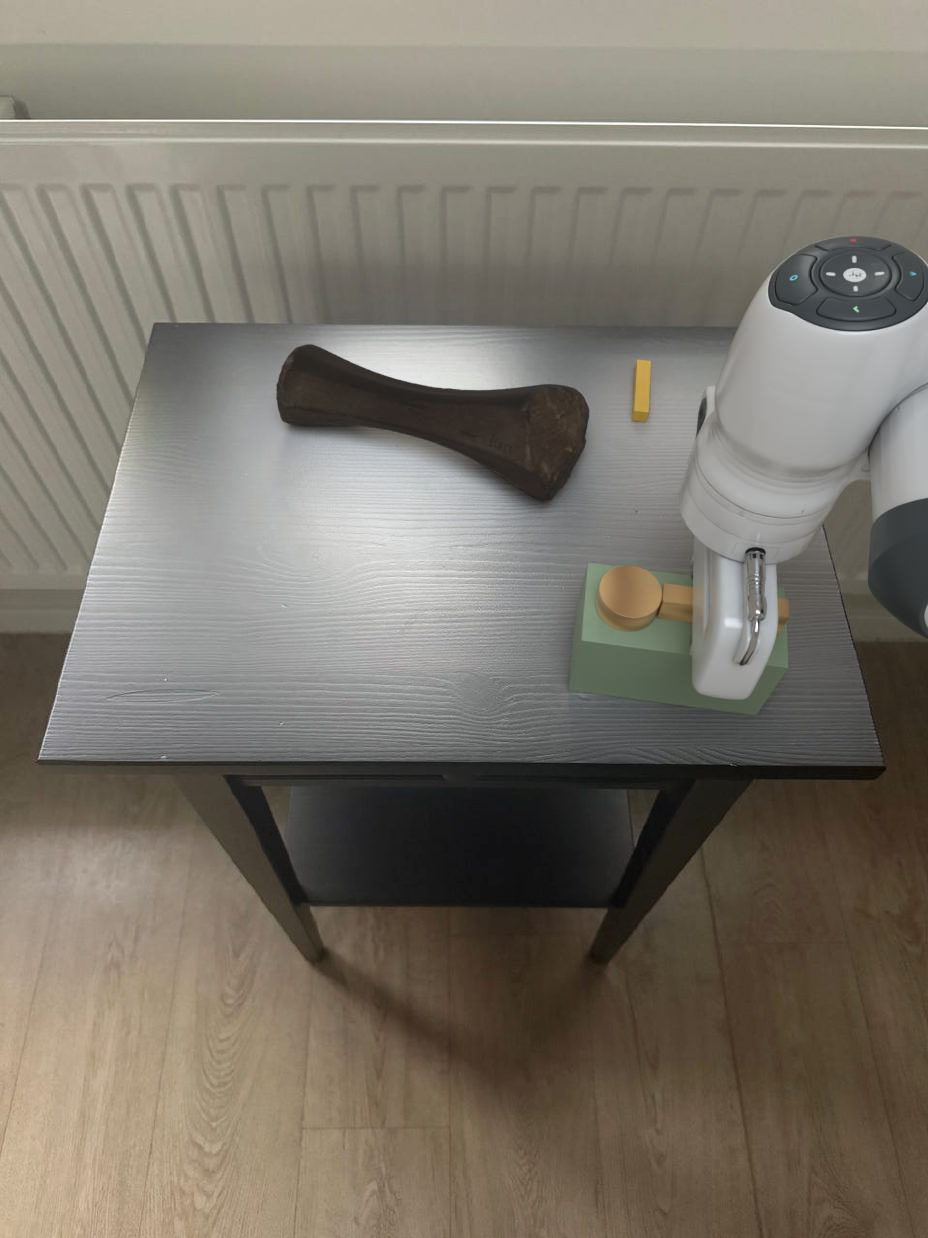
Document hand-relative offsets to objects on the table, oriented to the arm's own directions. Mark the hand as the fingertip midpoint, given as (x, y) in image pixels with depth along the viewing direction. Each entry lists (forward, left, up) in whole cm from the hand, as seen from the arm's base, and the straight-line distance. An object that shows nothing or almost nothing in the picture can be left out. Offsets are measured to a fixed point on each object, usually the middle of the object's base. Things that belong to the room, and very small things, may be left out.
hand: (701, 610), depth 69 cm
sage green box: (+1, 0, -9) cm, 9 cm away
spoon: (+1, 0, -1) cm, 1 cm away
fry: (+4, -30, -9) cm, 31 cm away
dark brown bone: (+23, -20, -9) cm, 32 cm away
